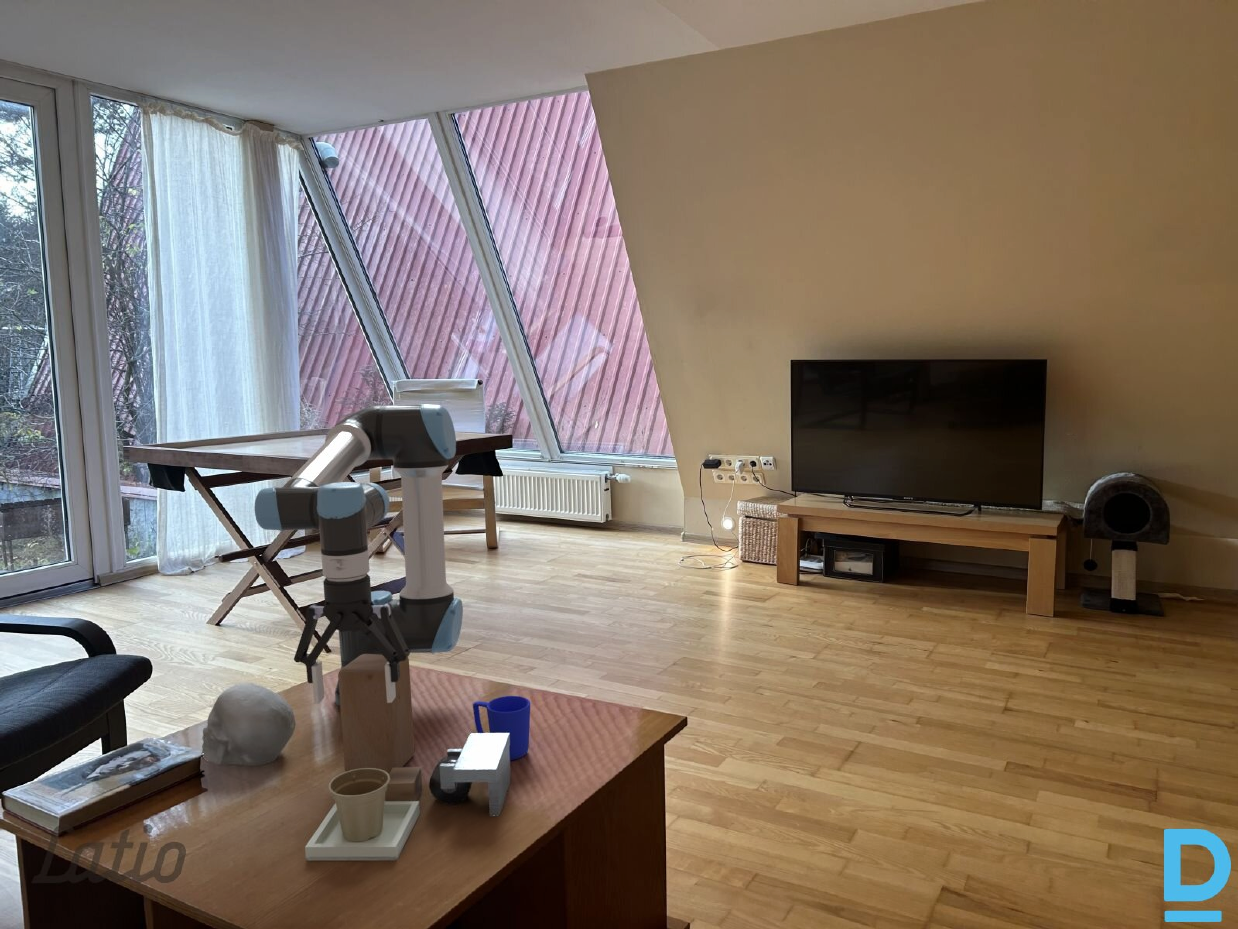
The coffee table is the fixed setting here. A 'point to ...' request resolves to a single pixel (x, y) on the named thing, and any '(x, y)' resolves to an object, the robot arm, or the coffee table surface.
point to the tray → (382, 847)
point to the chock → (404, 784)
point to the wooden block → (375, 715)
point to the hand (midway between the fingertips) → (355, 700)
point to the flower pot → (360, 802)
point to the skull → (247, 726)
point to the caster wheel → (474, 770)
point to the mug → (508, 721)
